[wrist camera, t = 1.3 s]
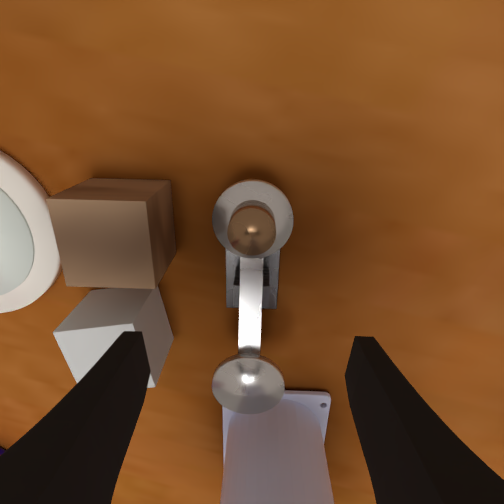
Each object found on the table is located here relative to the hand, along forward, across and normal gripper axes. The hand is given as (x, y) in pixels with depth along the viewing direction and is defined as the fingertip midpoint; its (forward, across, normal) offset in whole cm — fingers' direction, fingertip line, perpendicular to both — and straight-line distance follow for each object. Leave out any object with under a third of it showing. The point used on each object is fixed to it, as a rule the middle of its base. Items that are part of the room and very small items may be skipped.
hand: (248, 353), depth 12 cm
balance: (+9, 0, +3) cm, 10 cm away
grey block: (+9, +8, +7) cm, 14 cm away
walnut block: (+10, +7, 0) cm, 12 cm away
